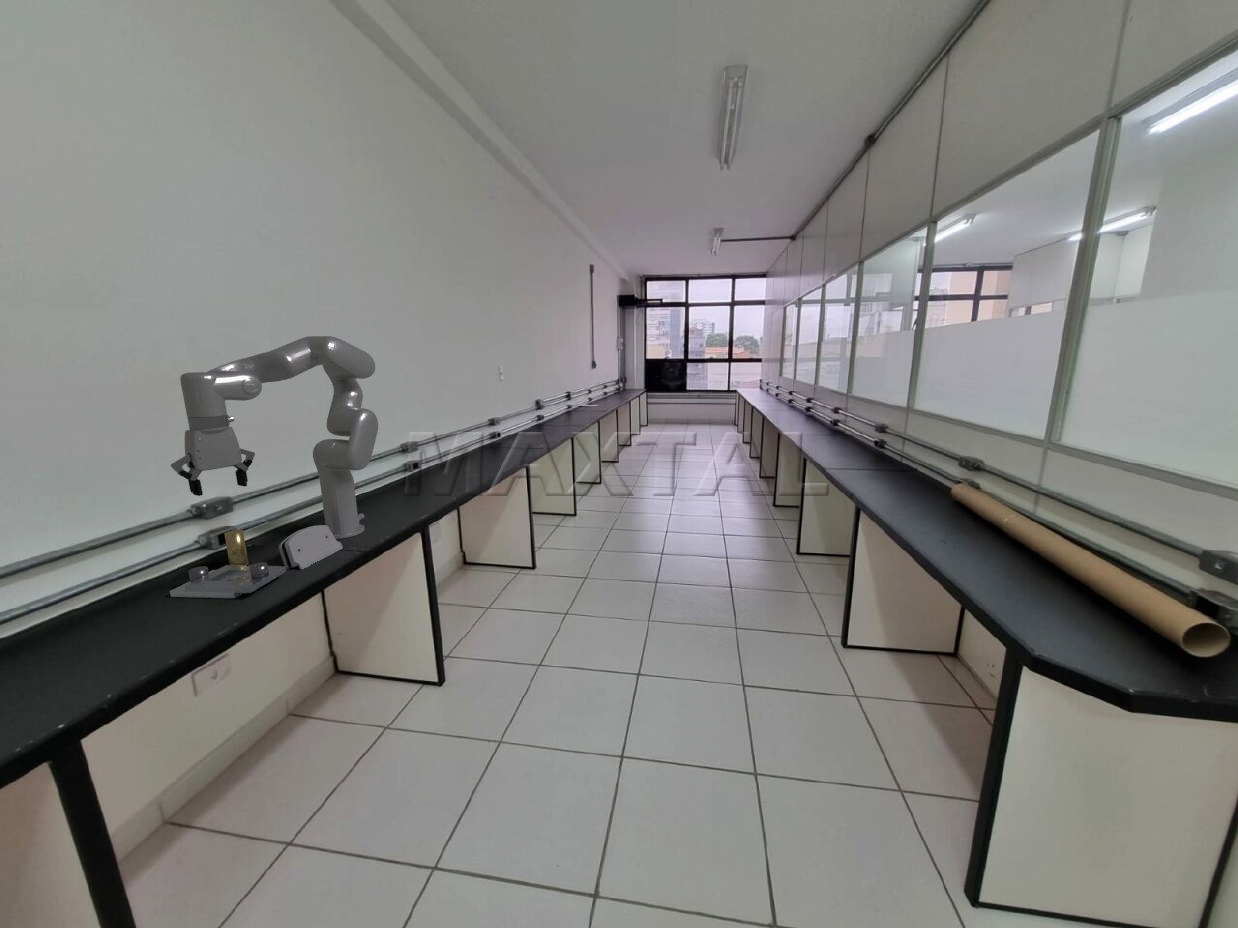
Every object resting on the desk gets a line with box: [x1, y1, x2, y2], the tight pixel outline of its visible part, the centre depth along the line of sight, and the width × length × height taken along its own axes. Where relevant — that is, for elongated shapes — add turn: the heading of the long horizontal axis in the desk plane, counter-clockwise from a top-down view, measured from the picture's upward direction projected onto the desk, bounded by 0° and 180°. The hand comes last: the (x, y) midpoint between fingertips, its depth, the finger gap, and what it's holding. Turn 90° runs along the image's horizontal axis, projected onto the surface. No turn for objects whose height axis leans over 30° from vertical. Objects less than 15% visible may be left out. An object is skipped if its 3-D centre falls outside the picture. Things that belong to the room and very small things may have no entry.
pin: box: [223, 529, 249, 566], centre depth 132 cm, size 4×4×10 cm
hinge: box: [278, 524, 344, 571], centre depth 138 cm, size 17×5×10 cm, turn 172°
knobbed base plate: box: [169, 561, 287, 599], centre depth 120 cm, size 12×20×6 cm, turn 88°
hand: (221, 490), depth 121 cm, fingers open, 9 cm apart
